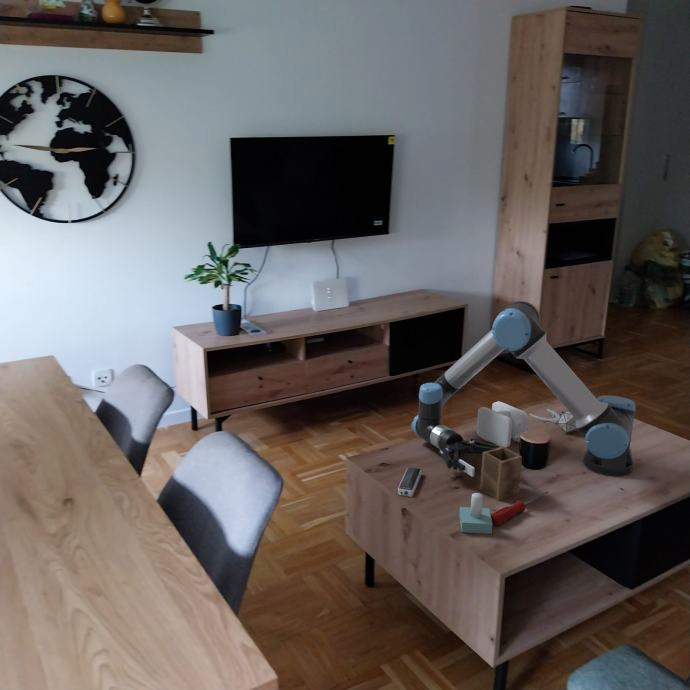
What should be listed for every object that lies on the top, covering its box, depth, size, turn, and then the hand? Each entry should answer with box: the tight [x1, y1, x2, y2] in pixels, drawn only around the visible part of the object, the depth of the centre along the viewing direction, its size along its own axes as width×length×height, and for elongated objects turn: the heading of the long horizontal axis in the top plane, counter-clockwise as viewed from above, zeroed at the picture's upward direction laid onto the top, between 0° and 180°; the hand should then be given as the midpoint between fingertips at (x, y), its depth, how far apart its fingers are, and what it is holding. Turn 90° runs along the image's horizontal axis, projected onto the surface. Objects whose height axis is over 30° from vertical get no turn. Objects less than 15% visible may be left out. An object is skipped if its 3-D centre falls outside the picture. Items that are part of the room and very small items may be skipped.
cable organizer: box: [476, 401, 529, 449], centre depth 244 cm, size 15×11×12 cm
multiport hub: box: [397, 466, 422, 498], centre depth 215 cm, size 4×14×2 cm, turn 163°
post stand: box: [458, 492, 493, 535], centre depth 193 cm, size 8×8×9 cm
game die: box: [554, 410, 578, 435], centre depth 251 cm, size 9×8×10 cm
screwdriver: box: [490, 490, 550, 526], centre depth 201 cm, size 4×25×4 cm, turn 129°
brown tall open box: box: [479, 447, 523, 501], centre depth 210 cm, size 8×8×12 cm
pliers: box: [529, 408, 560, 423], centre depth 263 cm, size 10×2×15 cm
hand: (491, 467), depth 213 cm, fingers open, 13 cm apart
